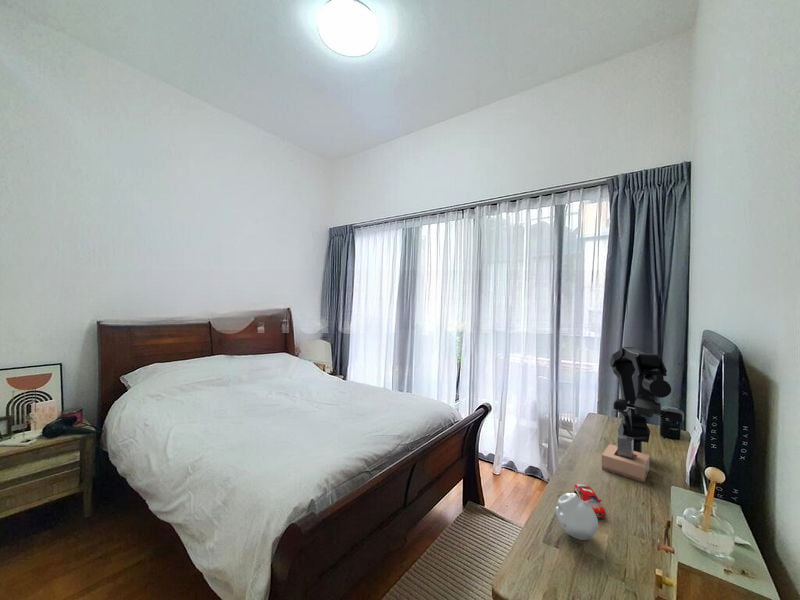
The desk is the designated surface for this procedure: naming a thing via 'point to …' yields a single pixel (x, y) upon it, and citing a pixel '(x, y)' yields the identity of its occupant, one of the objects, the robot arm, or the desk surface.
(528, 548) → the desk surface
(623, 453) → the grey rectangular block
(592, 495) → the race car
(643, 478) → the well
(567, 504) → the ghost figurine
